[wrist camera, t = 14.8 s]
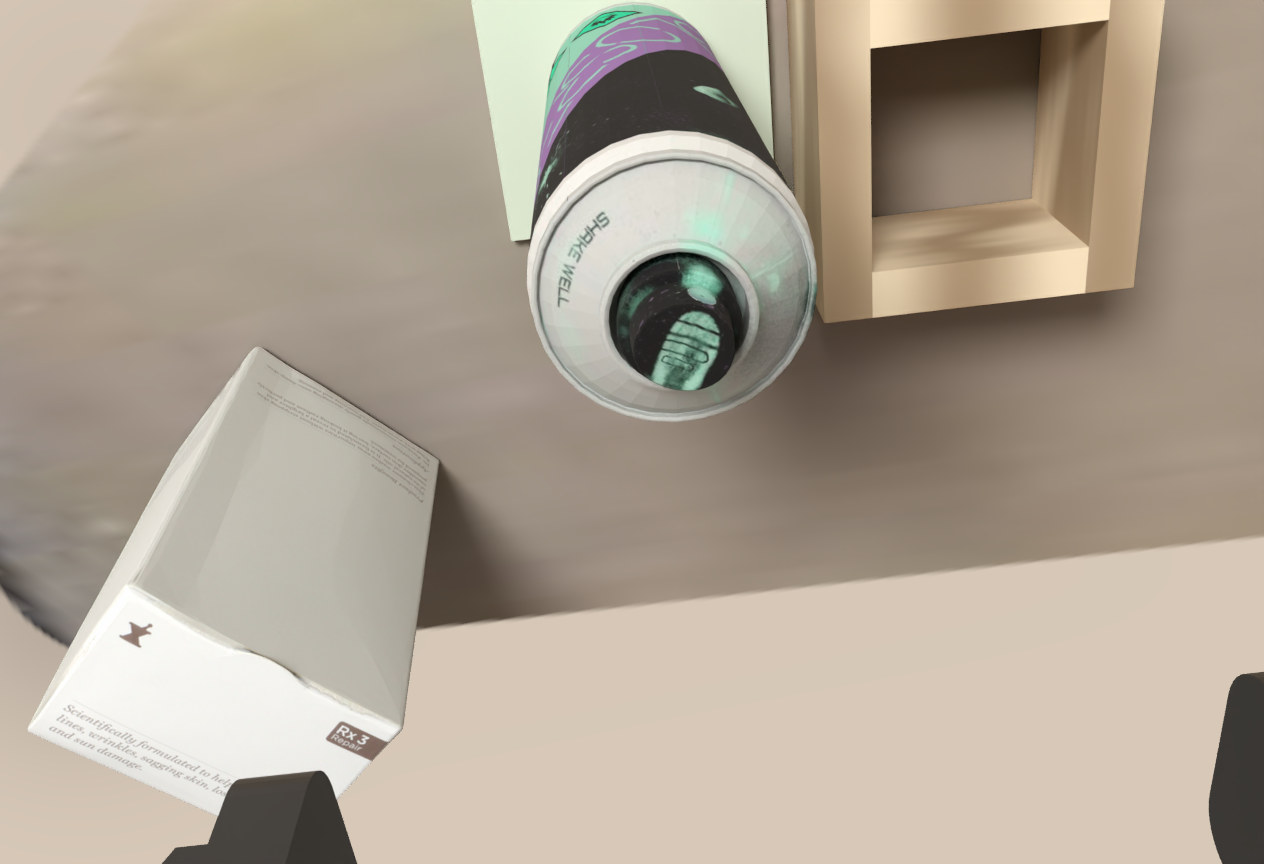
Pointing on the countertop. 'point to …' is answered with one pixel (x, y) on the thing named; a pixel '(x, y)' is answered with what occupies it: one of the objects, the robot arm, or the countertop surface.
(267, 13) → the countertop surface
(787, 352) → the spray can
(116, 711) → the skincare box
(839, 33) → the wooden box holder
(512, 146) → the mat
